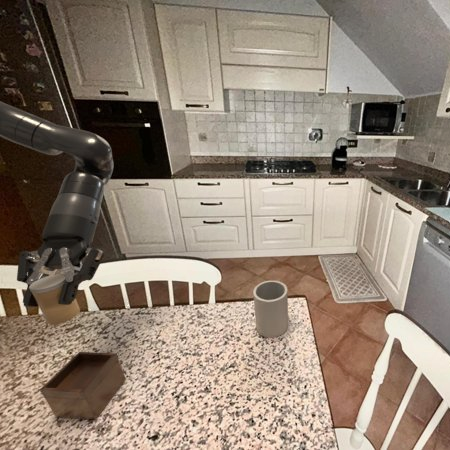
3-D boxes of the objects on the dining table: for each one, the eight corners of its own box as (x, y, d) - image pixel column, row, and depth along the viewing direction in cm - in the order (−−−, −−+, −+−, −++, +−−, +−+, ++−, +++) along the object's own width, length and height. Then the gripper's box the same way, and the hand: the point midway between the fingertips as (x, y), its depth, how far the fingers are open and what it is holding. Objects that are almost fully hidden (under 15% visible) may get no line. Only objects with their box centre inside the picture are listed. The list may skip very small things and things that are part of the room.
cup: (250, 322, 71) (247, 288, 66) (276, 309, 76) (275, 276, 71) (267, 343, 64) (264, 306, 59) (294, 326, 69) (294, 292, 65)
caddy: (55, 417, 48) (39, 389, 45) (91, 377, 55) (79, 351, 52) (95, 419, 47) (82, 392, 44) (126, 379, 55) (116, 353, 52)
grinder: (39, 324, 45) (20, 289, 42) (64, 306, 50) (49, 273, 47) (64, 325, 45) (47, 290, 42) (87, 307, 49) (73, 274, 46)
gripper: (17, 213, 46) (-21, 306, 40) (99, 211, 48) (75, 300, 41) (51, 228, 53) (23, 310, 47) (121, 225, 55) (104, 304, 48)
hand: (48, 305), depth 44 cm, fingers closed on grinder, 5 cm apart
